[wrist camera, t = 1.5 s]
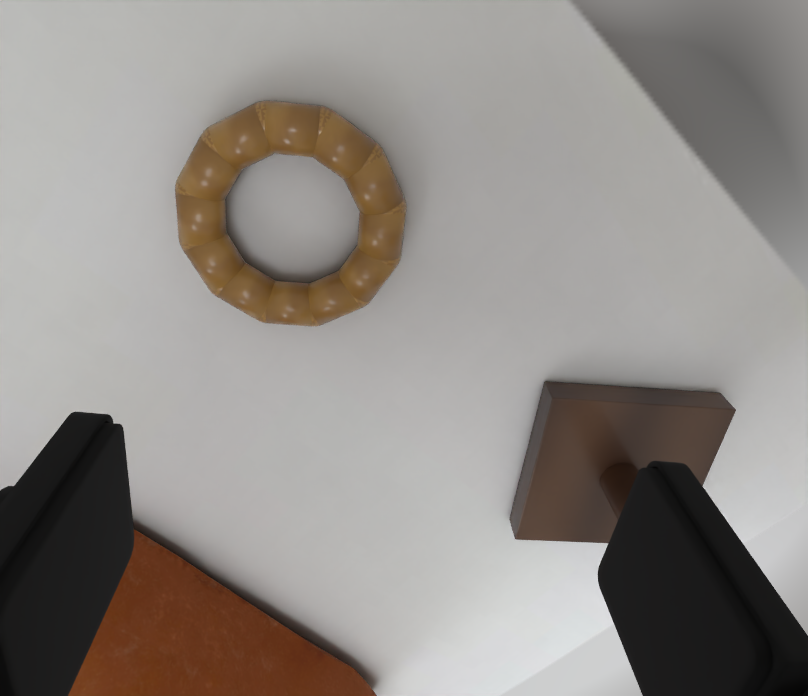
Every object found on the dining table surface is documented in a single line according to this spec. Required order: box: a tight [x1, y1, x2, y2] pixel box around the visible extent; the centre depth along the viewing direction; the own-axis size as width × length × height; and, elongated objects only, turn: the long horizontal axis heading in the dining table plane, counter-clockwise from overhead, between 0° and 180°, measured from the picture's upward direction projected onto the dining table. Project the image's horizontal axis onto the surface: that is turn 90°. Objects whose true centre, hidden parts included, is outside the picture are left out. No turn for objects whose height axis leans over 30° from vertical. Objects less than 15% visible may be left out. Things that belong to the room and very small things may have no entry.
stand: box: [510, 382, 736, 543], centre depth 26 cm, size 9×9×12 cm
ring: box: [175, 101, 406, 326], centre depth 24 cm, size 9×9×2 cm
